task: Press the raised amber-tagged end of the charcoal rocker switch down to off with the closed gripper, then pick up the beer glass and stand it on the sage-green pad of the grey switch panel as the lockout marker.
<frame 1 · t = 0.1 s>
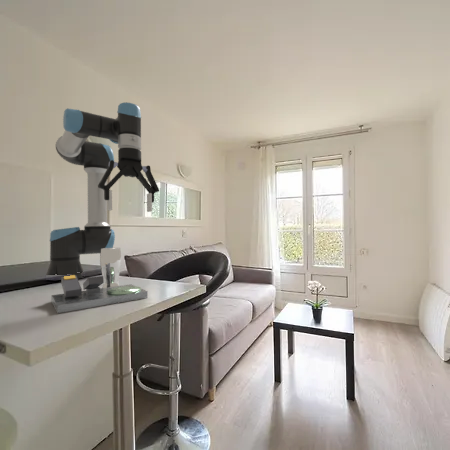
hand: (130, 211, 92), 28 cm above the table, tool pointing down, fingers open, 13 cm apart
switch panel: (100, 299, 82), on the table
rocker tagged: (71, 285, 80), point 5 cm above the table, hinge at 19.0°
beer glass: (111, 290, 96), on the table
rocker plain: (93, 282, 83), point 5 cm above the table, hinge at -19.0°
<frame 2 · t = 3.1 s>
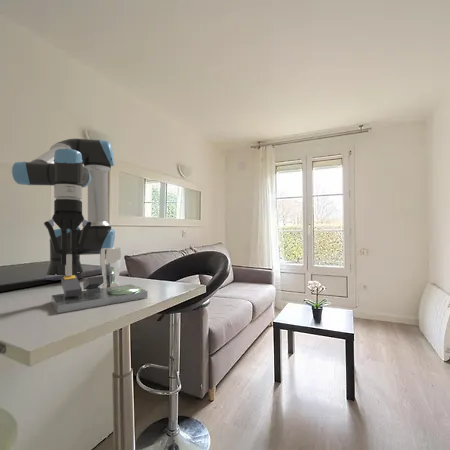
hand: (68, 275, 83), 8 cm above the table, tool pointing down, fingers closed
rocker tagged: (71, 285, 80), point 5 cm above the table, hinge at 18.1°, touching gripper
everything else where it was.
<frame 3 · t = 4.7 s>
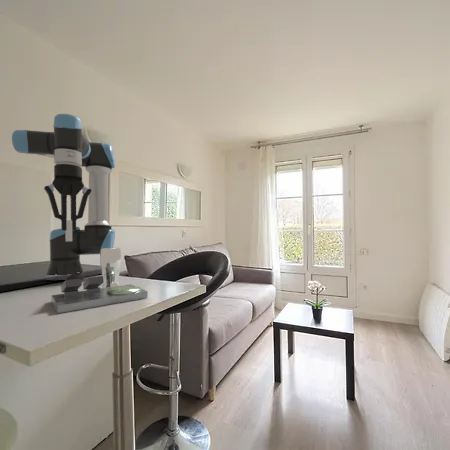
hand: (68, 241, 83), 18 cm above the table, tool pointing down, fingers closed
rocker tagged: (71, 285, 80), point 5 cm above the table, hinge at -19.1°
everything else where it was.
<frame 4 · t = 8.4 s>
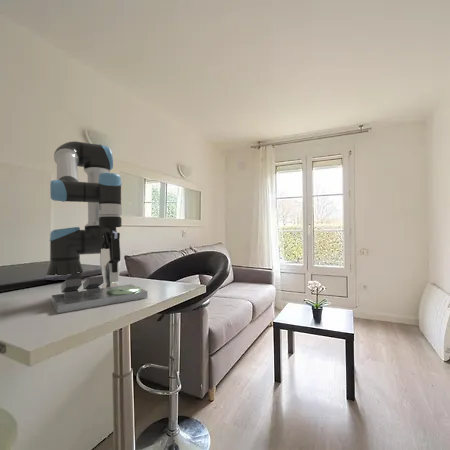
hand: (110, 280, 96), 4 cm above the table, tool pointing down, fingers closed on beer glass, 7 cm apart
rocker tagged: (71, 285, 80), point 5 cm above the table, hinge at -19.6°
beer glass: (111, 290, 96), on the table, touching gripper
everything else where it was.
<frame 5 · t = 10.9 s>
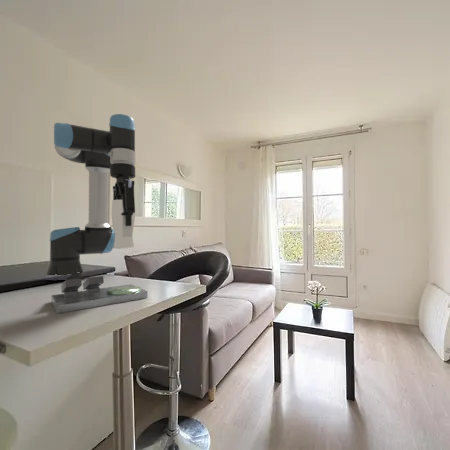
hand: (123, 236, 85), 19 cm above the table, tool pointing down, fingers closed on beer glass, 7 cm apart
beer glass: (123, 248, 85), point 15 cm above the table, touching gripper
everything else where it was.
when the fingers open (7 cm above the table, at t = 13.4 s): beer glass stays where it is, resting on switch panel.
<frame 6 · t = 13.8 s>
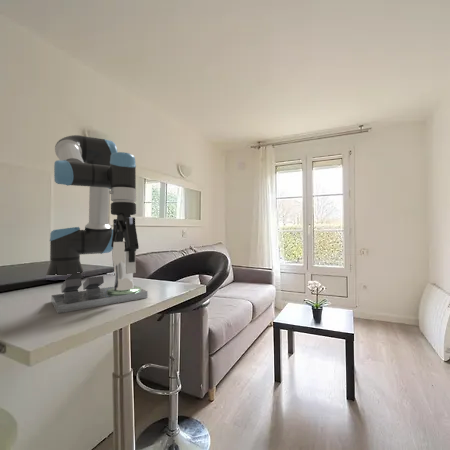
hand: (124, 271, 84), 8 cm above the table, tool pointing down, fingers open, 11 cm apart
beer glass: (123, 289, 84), point 2 cm above the table, touching switch panel
everything else where it was.
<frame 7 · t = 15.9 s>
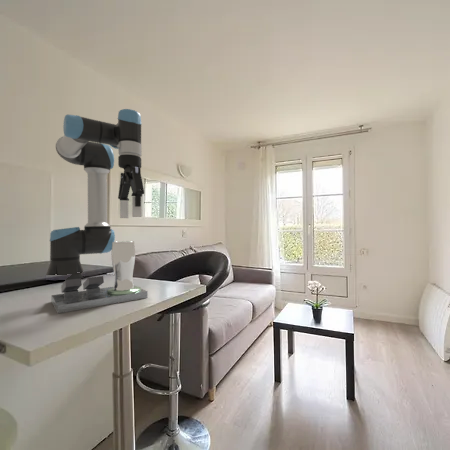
hand: (130, 217, 92), 26 cm above the table, tool pointing down, fingers open, 13 cm apart
nothing on the table moved.
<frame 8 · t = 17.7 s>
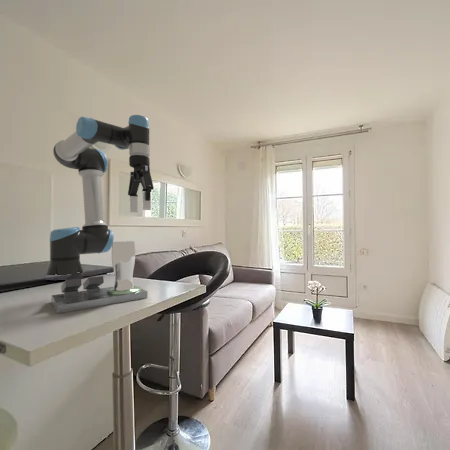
hand: (140, 211, 103), 29 cm above the table, tool pointing down, fingers open, 13 cm apart
nothing on the table moved.
at the end: rocker tagged at -20° (first picture: +19°); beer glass inside the target area (0.2 cm from its centre), point 2.4 cm above the table; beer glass tilted 1° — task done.
